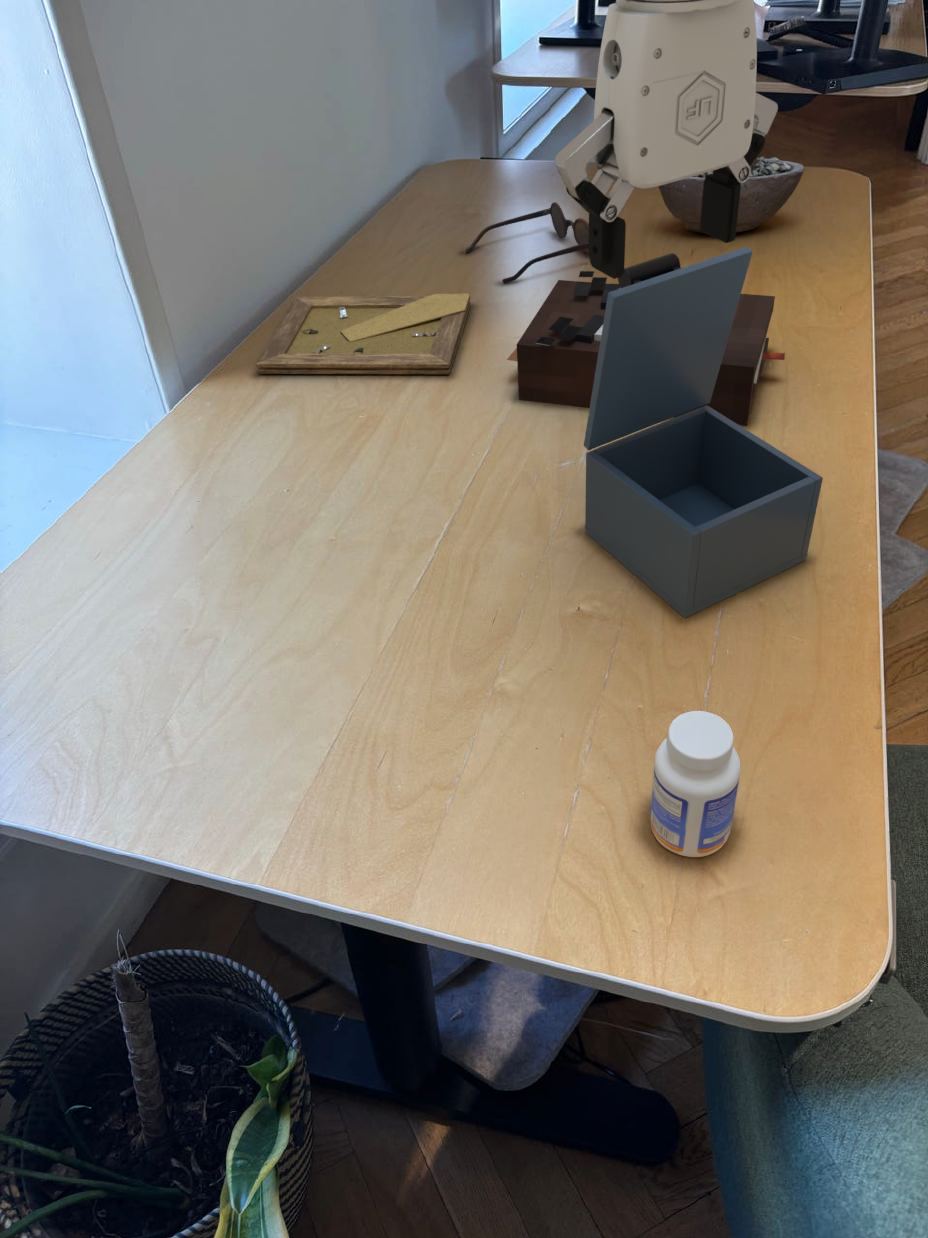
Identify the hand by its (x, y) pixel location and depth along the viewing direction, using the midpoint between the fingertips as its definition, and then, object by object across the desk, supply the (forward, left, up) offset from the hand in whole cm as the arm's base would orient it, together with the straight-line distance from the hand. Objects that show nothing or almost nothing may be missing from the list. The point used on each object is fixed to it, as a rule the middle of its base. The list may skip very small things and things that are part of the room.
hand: (663, 253), depth 71 cm
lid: (+5, -5, -11) cm, 13 cm away
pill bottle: (-25, +15, -28) cm, 41 cm away
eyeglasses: (+64, -29, -28) cm, 76 cm away
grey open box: (-1, -5, -28) cm, 29 cm away
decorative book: (+27, -21, -28) cm, 44 cm away
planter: (+54, -56, -28) cm, 83 cm away
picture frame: (+55, +1, -28) cm, 62 cm away
